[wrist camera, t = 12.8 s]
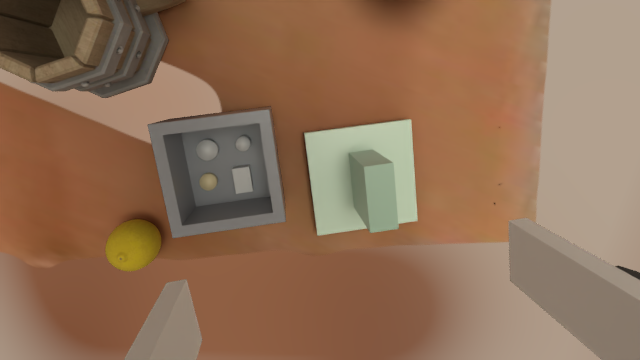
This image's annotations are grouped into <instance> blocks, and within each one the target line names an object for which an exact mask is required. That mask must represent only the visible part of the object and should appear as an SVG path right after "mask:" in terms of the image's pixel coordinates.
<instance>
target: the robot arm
mask: <svg viewBox="0 0 640 360" xmlns="http://www.w3.org/2000/svg"><path fill="white" fill-rule="evenodd" d="M509 257H510V258H509V260H510V281H511V282H512V283H513V284H514V285H515V286H517V287H518V288H519V289H520V290H521V291H522V292H524V293H525V294H526V295H527V296H528V297H529V298H531V299H532V300H533V301H534V302H535V303H537V304H538V305H539V306H540V307H541V308H542V309H543V310H544V311H546V312H547V313H548V314H549V315H550V316H551V317H553V318H554V319H555V320H556V321H557V322H558V323H560V324H561V325H562V326H563V327H564V328H565V329H567V330H568V331H569V332H570V333H571V334H572V335H573V336H575V337H576V338H577V339H578V340H579V341H580V342H582V343H583V344H584V345H585V346H586V347H587V348H589V349H590V350H591V351H592V352H594V354H596V355H597V356H598V357H599V358H600V359H601V360H640V273H639V272H637V271H633V270H630V269H627V268H624V267H621V266H613V265H611V264H609V263H608V262H606V261H604V260H602V259H601V258H598V257H597V256H595V255H593V254H591V253H590V252H588V251H586V250H584V249H582V248H580V247H579V246H577V245H575V244H573V243H571V242H569V241H568V240H566V239H564V238H562V237H561V236H559V235H557V234H555V233H553V232H551V231H550V230H548V229H546V228H544V227H542V226H541V225H539V224H537V223H535V222H533V221H531V220H530V219H528V218H522V219H517V220H511V221H509ZM201 342H202V337H201V333H200V329H199V325H198V321H197V318H196V314H195V310H194V306H193V302H192V298H191V295H190V291H189V287H188V283H187V280H186V279H185V280H179V281H174V282H169V283H166V285H165V287H164V288H163V290H162V292H161V294H160V296H159V298H158V299H157V301H156V303H155V305H154V307H153V308H152V310H151V312H150V314H149V316H148V317H147V319H146V321H145V323H144V325H143V326H142V328H141V330H140V332H139V334H138V335H137V337H136V339H135V341H134V342H133V344H132V346H131V348H130V350H129V352H128V353H127V355H126V357H125V359H124V360H196V359H197V356H198V352H199V348H200V345H201Z"/></svg>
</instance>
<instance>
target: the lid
mask: <svg viewBox="0 0 640 360" xmlns="http://www.w3.org/2000/svg"><path fill="white" fill-rule="evenodd" d="M304 137H305V145H306V152H307V160H308V168H309V176H310V183H311V191H312V199H313V207H314V214H315V222H316V230H317V235H318V236H319V235H326V234H332V233H339V232H346V231H352V230H359V229H366V228H367V229H368V230H369V232H370V233H373V232H380V231H386V230H393V229H399V227H398V224H399V223H406V222H413V221H418V220H417V204H416V188H415V173H414V157H413V141H412V126H411V119H404V120H396V121H389V122H381V123H373V124H366V125H358V126H350V127H343V128H335V129H327V130H320V131H312V132H304Z"/></svg>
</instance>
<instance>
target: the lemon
mask: <svg viewBox="0 0 640 360" xmlns="http://www.w3.org/2000/svg"><path fill="white" fill-rule="evenodd" d="M160 247H161V235H160V232H159V230H158V229H157V228H156V226H155V225H154V224H152V223H151V222H149V221H146V220H141V219H134V220H129V221H126V222H124V223H122V224H121V225H119V226H118V227H116V228H115V229H114V231H113V232H112V233H111V234H110V236H109V238H108V240H107V242H106V248H105V252H106V256H107V258H108V260H109V262H110V263H111V264H112V265H113V266H114V267H115V268H118V269H120V270H123V271H135V270H139V269H141V268H143V267H145V266H147V265H148V264H149V263H151V262H152V261H153V260H154V259H155V257H156V256H157V254H158V253H159V250H160Z"/></svg>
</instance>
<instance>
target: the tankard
mask: <svg viewBox="0 0 640 360" xmlns="http://www.w3.org/2000/svg"><path fill="white" fill-rule="evenodd" d="M185 1H186V0H0V68H2V69H4V70H6V71H9V72H11V73H13V74H15V75H18V76H19V77H22V78H24V79H26V80H28V81H29V82H31V83H36V84H38V85H40V86H42V87H44V88H47V89H49V90H51V91H67V90H70V89H73V88H75V89H77V90H79V91H89V92H91V93H93V94H95V95H98V96H100V97H102V98H108V97H111V96H114V95H117V94H120V93H123V92H126V91H129V90H132V89H135V88H138V87H141V86H144V85H146V84H150V83H151V82H152V80H153V77H154V75H155V73H156V70H157V68H158V65H159V63H160V60H161V58H162V55H163V53H164V51H165V48H166V46H167V43H168V41H169V40H168V37H167V35H166V32H165V30H164V27H163V25H162V23H161V20H160V18H159V15H158V13H157V12H159V11H162V10H165V9H168V8H170V7H173V6H175V5H178V4H180V3H183V2H185Z"/></svg>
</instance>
